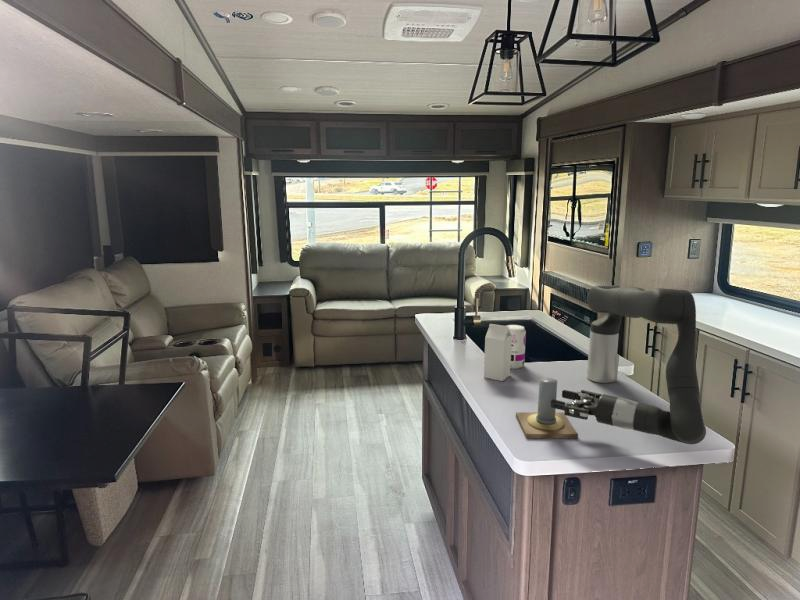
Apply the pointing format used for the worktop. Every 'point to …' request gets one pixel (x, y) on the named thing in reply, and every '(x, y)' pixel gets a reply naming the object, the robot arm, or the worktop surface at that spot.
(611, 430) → the worktop surface
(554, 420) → the grey rounded cylinder
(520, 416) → the post base
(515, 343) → the supplement can
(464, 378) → the worktop surface
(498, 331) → the milk carton
